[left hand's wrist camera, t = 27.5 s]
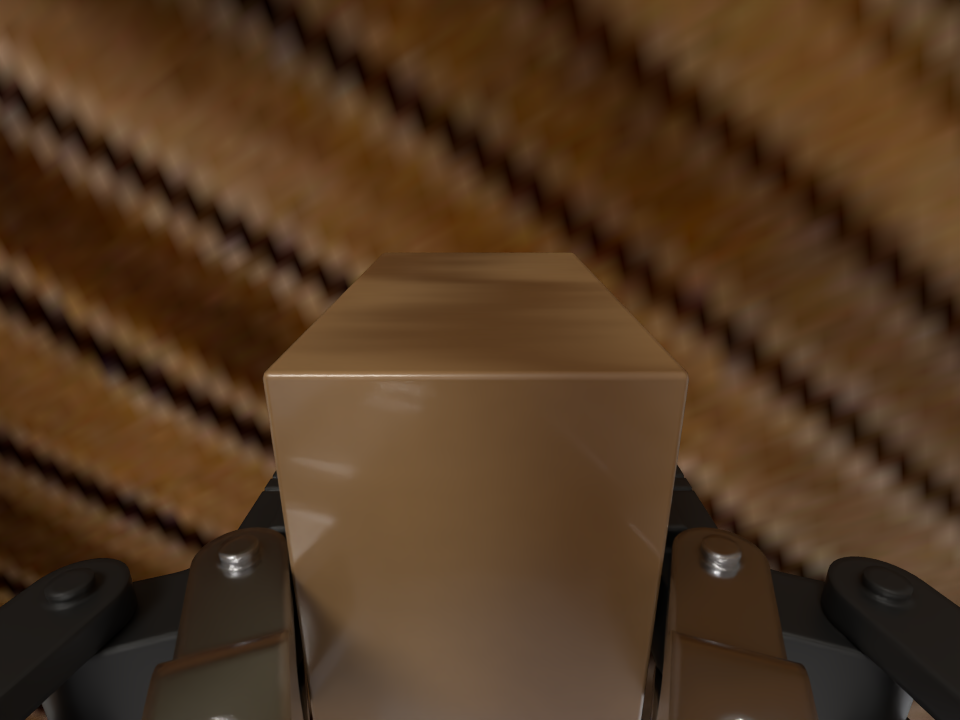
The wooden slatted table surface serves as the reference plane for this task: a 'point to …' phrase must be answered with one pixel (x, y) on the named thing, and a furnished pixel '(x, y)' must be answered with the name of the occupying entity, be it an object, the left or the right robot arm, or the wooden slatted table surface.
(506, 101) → the wooden slatted table surface
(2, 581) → the wooden slatted table surface
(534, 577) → the block
